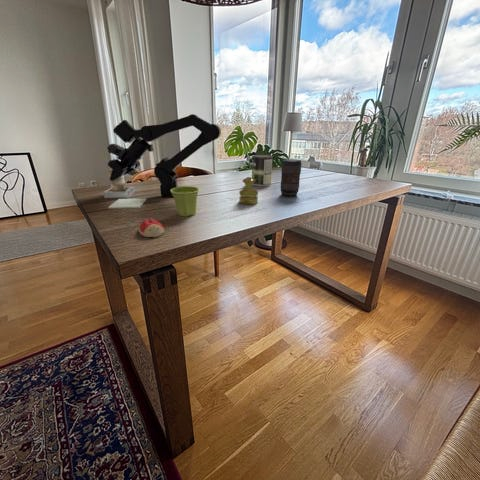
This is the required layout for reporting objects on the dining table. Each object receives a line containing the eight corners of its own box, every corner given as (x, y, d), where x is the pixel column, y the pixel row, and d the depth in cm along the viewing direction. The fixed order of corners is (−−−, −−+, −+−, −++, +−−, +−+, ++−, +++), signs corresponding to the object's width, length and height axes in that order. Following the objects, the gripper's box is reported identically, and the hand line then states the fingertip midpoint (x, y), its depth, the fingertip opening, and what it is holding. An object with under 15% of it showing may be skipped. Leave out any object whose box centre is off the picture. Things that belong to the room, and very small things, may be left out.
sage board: (146, 199, 106) (146, 198, 106) (139, 208, 96) (138, 206, 96) (119, 200, 105) (118, 198, 105) (108, 208, 95) (108, 207, 95)
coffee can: (253, 186, 129) (253, 157, 123) (250, 182, 138) (250, 154, 133) (273, 186, 130) (275, 157, 124) (268, 181, 140) (270, 154, 134)
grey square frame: (134, 192, 118) (133, 186, 116) (127, 197, 109) (126, 191, 108) (113, 192, 117) (112, 186, 116) (104, 198, 108) (103, 192, 107)
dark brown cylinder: (300, 194, 116) (303, 159, 110) (295, 198, 109) (299, 162, 103) (282, 192, 119) (285, 158, 113) (277, 196, 112) (279, 160, 106)
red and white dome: (144, 241, 70) (142, 229, 69) (135, 229, 78) (133, 218, 76) (168, 235, 74) (167, 224, 72) (158, 225, 81) (156, 214, 80)
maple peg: (128, 193, 116) (124, 168, 111) (124, 196, 111) (119, 170, 106) (116, 193, 115) (111, 168, 111) (111, 196, 110) (105, 170, 106)
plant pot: (194, 219, 85) (193, 193, 82) (168, 217, 87) (165, 191, 84) (204, 210, 94) (202, 187, 90) (179, 208, 96) (177, 185, 92)
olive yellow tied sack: (254, 205, 99) (255, 179, 95) (236, 203, 102) (236, 178, 98) (259, 200, 106) (260, 176, 102) (242, 199, 108) (243, 175, 104)
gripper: (128, 135, 111) (108, 161, 116) (107, 137, 94) (85, 168, 99) (149, 154, 115) (128, 179, 119) (132, 160, 98) (109, 188, 102)
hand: (113, 178), depth 110 cm, fingers closed on maple peg, 6 cm apart
